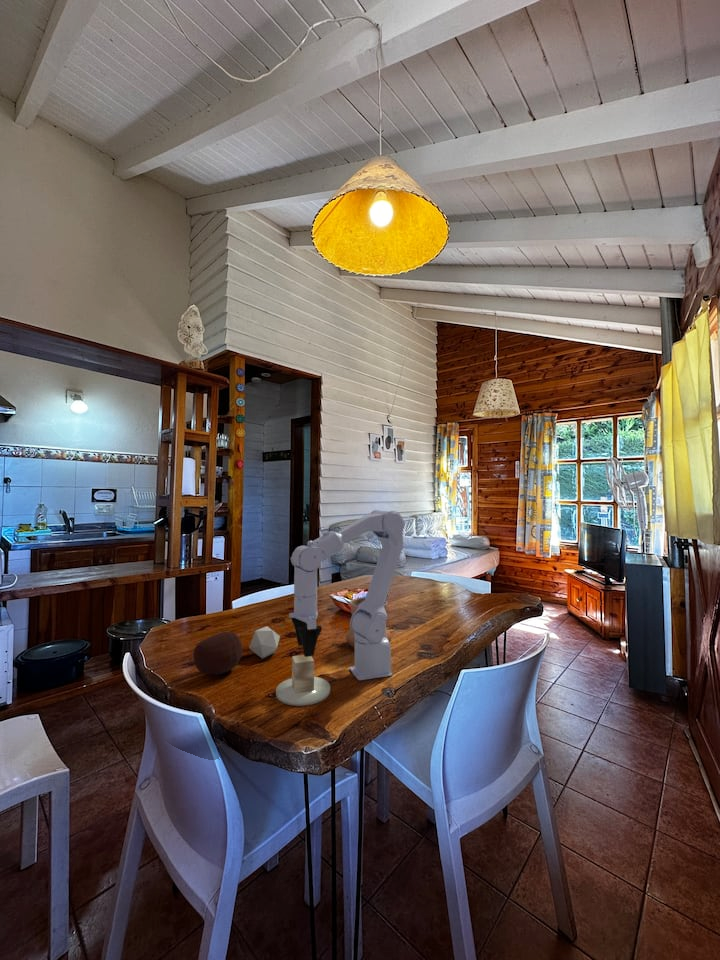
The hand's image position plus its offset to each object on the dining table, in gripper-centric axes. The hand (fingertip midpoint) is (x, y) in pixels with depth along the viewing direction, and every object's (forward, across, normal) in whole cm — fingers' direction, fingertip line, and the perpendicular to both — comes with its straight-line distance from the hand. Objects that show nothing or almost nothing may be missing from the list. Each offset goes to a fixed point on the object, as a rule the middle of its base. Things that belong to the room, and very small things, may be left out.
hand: (305, 650), depth 99 cm
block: (+8, +2, -1) cm, 8 cm away
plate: (+9, +2, -1) cm, 9 cm away
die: (+10, -26, -7) cm, 28 cm away
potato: (+10, -17, -20) cm, 28 cm away
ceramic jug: (+10, -22, +25) cm, 35 cm away
